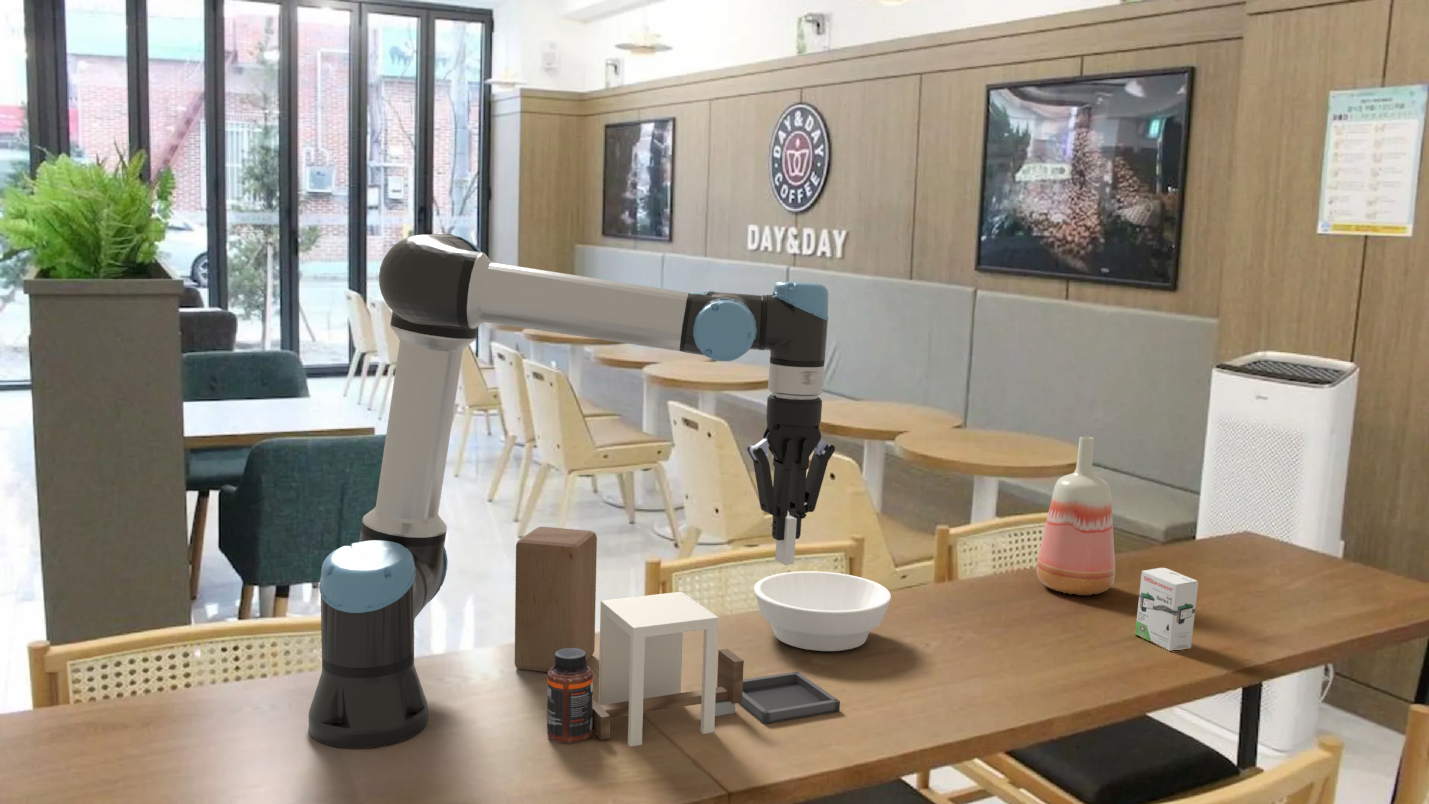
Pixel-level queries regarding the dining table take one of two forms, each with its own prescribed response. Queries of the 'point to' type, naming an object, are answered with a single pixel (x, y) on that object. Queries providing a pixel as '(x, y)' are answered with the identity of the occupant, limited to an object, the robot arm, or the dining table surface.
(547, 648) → the wooden block
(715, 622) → the tunnel
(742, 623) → the dining table surface
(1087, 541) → the vase
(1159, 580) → the ink box
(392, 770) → the dining table surface
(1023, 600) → the dining table surface
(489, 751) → the dining table surface
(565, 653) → the supplement bottle
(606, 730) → the wooden dumbbell-shaped bar
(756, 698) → the grey shallow square tray
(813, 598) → the bowl
